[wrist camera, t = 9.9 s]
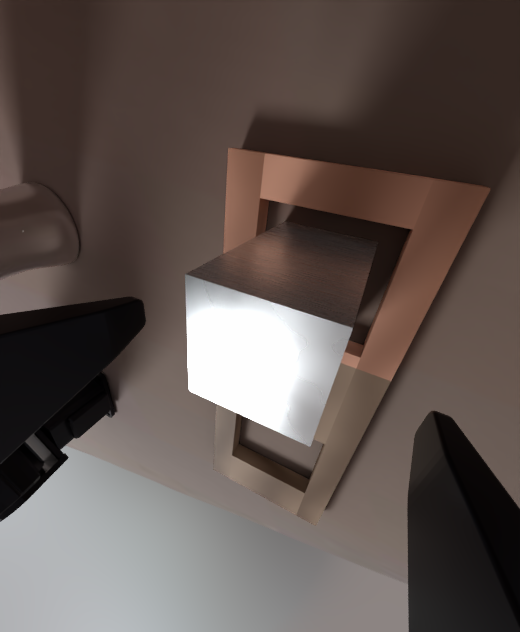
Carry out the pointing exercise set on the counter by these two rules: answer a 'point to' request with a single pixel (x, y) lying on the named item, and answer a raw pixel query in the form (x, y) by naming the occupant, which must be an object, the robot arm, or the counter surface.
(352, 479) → the counter surface
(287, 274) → the square peg
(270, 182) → the brown flat frame piece
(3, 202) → the beer glass
